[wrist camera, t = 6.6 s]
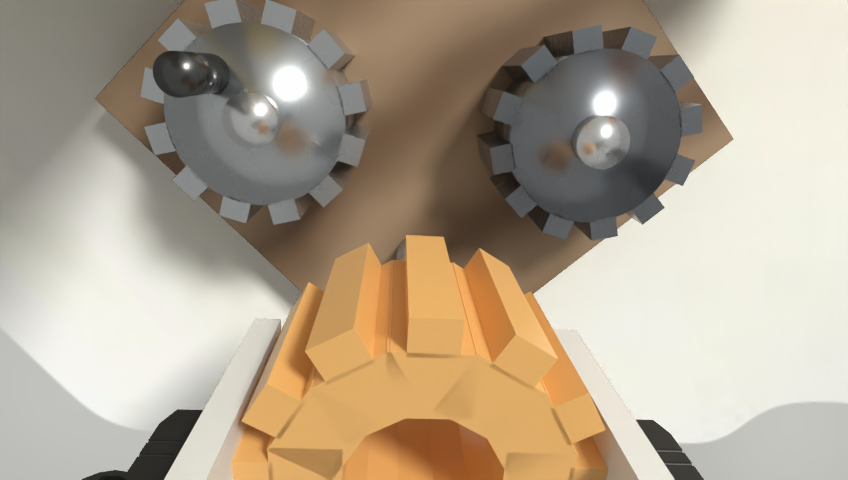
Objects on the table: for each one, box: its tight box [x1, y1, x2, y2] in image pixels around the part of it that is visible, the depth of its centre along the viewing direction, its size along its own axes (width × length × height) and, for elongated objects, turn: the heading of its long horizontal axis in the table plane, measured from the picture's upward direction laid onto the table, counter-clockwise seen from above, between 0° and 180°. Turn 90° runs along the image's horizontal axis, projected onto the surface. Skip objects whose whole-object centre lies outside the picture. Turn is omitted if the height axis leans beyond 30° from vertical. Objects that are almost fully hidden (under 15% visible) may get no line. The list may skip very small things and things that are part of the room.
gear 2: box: [476, 24, 702, 241], centre depth 21 cm, size 8×8×5 cm
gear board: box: [95, 0, 733, 294], centre depth 22 cm, size 21×21×6 cm
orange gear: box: [232, 235, 608, 480], centre depth 14 cm, size 8×8×5 cm
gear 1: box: [141, 0, 373, 225], centre depth 20 cm, size 8×8×7 cm
